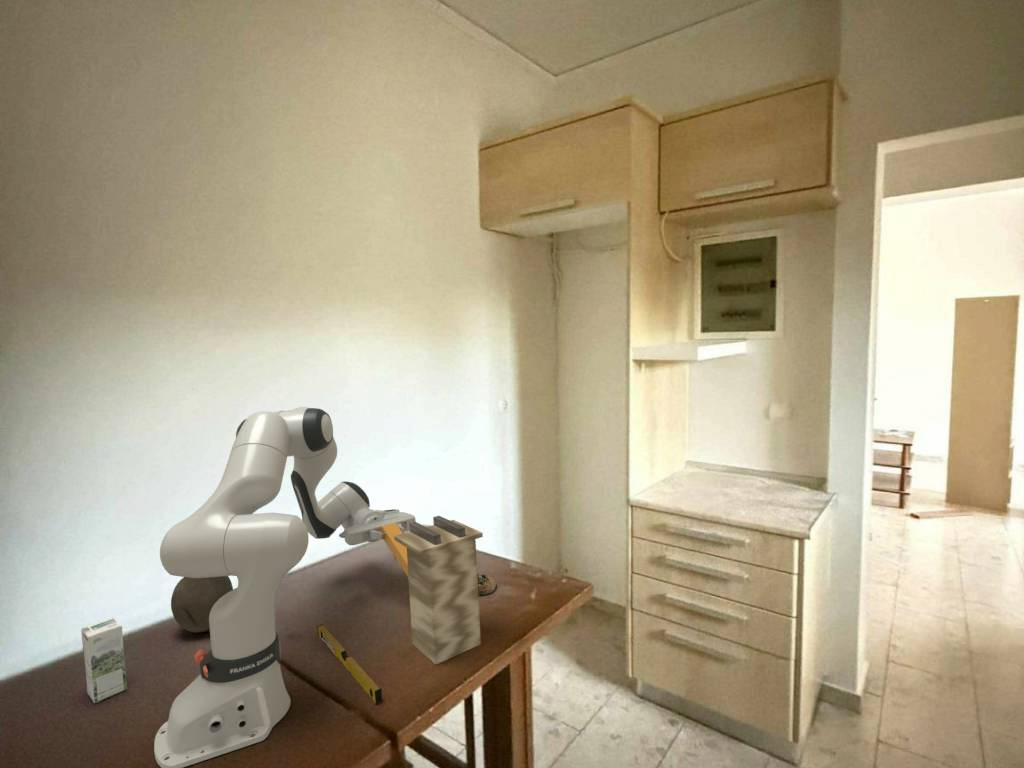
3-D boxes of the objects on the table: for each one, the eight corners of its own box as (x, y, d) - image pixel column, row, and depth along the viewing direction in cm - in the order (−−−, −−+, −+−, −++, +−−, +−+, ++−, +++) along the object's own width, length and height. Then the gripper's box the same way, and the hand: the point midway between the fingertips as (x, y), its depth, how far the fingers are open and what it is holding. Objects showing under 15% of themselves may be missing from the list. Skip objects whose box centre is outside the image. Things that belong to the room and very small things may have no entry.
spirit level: (382, 703, 103) (381, 688, 103) (376, 706, 102) (375, 691, 102) (323, 635, 129) (322, 623, 129) (318, 637, 128) (317, 625, 128)
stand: (427, 668, 113) (419, 542, 111) (400, 643, 123) (393, 527, 122) (487, 640, 123) (482, 524, 121) (458, 619, 133) (452, 512, 131)
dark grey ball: (247, 622, 137) (242, 566, 136) (189, 649, 125) (184, 588, 124) (219, 609, 145) (215, 556, 144) (162, 633, 133) (157, 576, 132)
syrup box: (120, 680, 114) (113, 615, 113) (128, 690, 110) (121, 623, 109) (87, 694, 110) (80, 627, 109) (94, 705, 106) (87, 636, 105)
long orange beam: (413, 585, 131) (415, 576, 130) (380, 534, 144) (381, 525, 143) (427, 580, 133) (429, 571, 132) (393, 530, 147) (395, 522, 146)
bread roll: (450, 593, 148) (451, 575, 148) (470, 582, 158) (471, 565, 158) (485, 601, 143) (486, 583, 143) (503, 589, 153) (504, 572, 153)
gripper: (335, 523, 147) (354, 531, 136) (401, 507, 160) (423, 513, 149) (337, 545, 147) (356, 555, 136) (403, 528, 160) (425, 535, 149)
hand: (392, 533), depth 143 cm, fingers closed on long orange beam, 4 cm apart
